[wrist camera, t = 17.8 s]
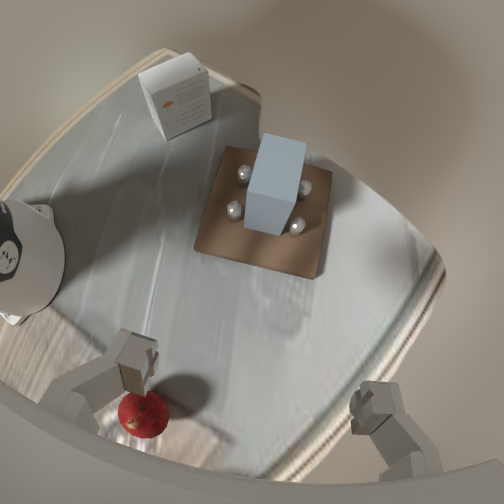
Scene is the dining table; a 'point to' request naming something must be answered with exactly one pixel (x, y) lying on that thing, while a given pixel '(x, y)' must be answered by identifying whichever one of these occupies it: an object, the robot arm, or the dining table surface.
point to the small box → (177, 94)
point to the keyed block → (274, 183)
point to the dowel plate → (256, 242)
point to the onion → (143, 414)
